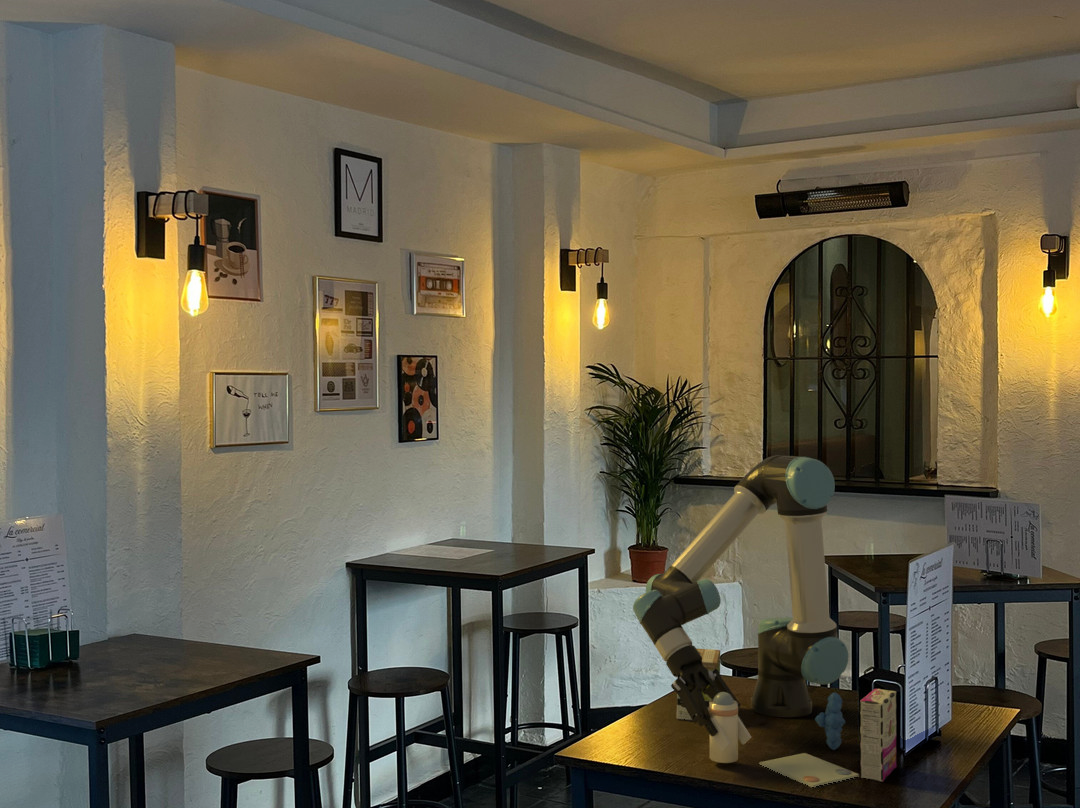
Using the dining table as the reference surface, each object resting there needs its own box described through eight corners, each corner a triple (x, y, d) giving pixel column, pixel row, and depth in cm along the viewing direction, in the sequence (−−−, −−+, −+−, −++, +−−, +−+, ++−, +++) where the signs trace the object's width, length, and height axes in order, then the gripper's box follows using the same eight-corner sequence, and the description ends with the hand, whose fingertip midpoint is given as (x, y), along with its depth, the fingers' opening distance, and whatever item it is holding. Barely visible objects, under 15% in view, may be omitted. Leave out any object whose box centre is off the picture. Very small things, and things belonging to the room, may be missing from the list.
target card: (804, 755, 247) (804, 751, 247) (859, 777, 234) (859, 773, 234) (759, 765, 241) (759, 761, 241) (812, 787, 227) (812, 783, 227)
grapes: (816, 737, 261) (816, 685, 260) (846, 740, 259) (846, 688, 258) (812, 752, 249) (813, 698, 249) (844, 756, 247) (844, 701, 247)
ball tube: (725, 751, 245) (725, 686, 245) (744, 759, 240) (744, 693, 240) (703, 756, 242) (702, 691, 242) (721, 764, 237) (721, 697, 237)
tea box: (717, 722, 272) (718, 661, 272) (675, 720, 274) (676, 659, 274) (720, 706, 287) (720, 648, 287) (680, 703, 289) (681, 646, 289)
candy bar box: (873, 763, 242) (874, 687, 242) (897, 767, 240) (897, 690, 240) (858, 778, 233) (859, 699, 233) (882, 782, 230) (883, 703, 230)
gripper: (699, 656, 259) (755, 744, 246) (640, 670, 246) (697, 763, 234) (716, 637, 255) (775, 725, 242) (658, 650, 242) (716, 744, 230)
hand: (736, 744), depth 238 cm, fingers closed on ball tube, 6 cm apart
